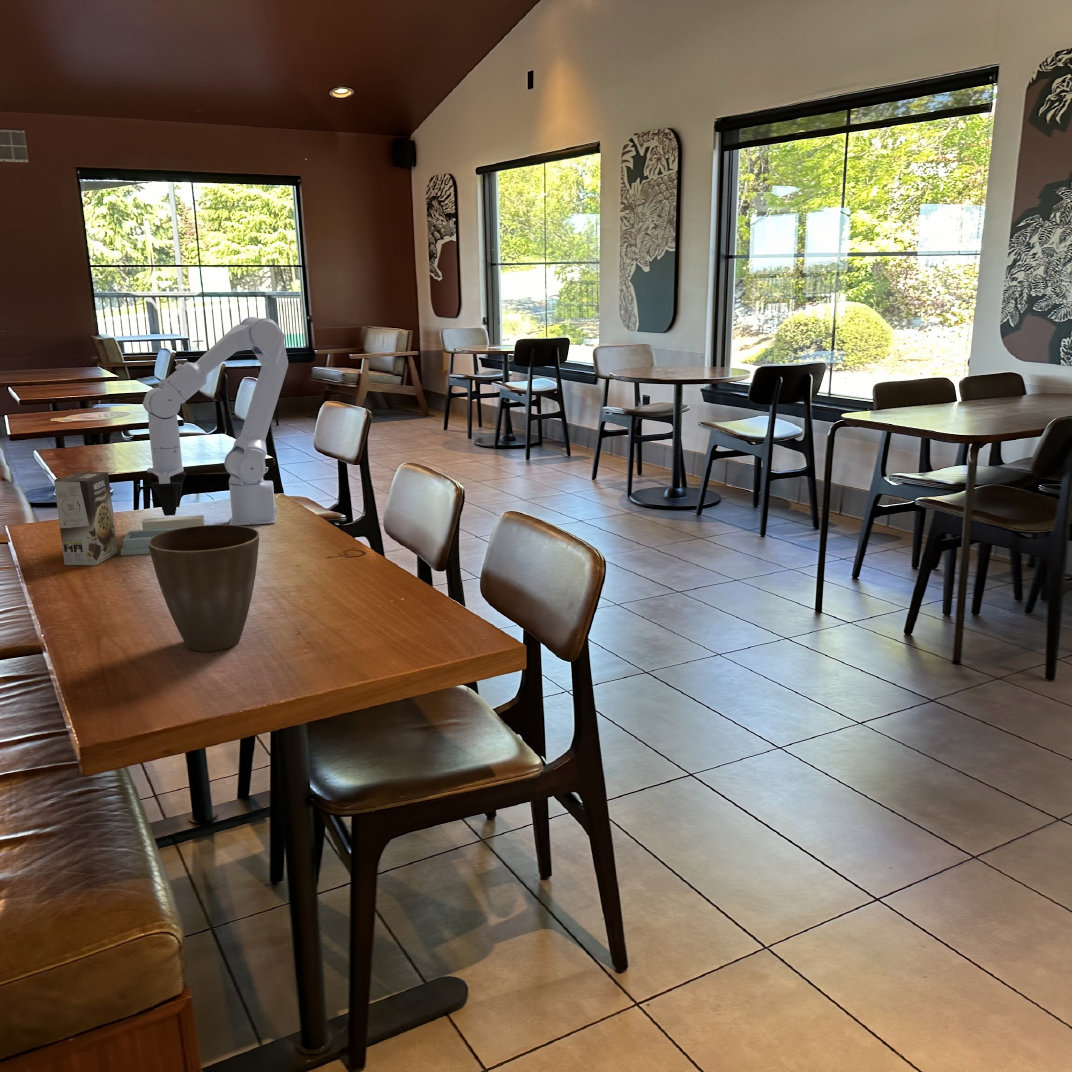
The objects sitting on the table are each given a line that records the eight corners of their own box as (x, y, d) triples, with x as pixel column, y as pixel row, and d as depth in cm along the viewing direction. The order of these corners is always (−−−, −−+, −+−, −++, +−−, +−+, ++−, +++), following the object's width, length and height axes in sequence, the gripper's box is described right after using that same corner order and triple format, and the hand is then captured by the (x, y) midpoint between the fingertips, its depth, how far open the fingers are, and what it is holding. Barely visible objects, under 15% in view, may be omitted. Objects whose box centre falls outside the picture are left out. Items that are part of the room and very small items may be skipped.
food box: (97, 565, 177) (86, 480, 173) (63, 565, 177) (51, 480, 173) (119, 552, 186) (109, 471, 182) (86, 552, 186) (76, 471, 182)
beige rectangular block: (205, 529, 204) (203, 515, 203) (204, 533, 201) (202, 518, 200) (145, 533, 201) (143, 518, 200) (143, 537, 198) (141, 522, 197)
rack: (211, 538, 196) (210, 525, 195) (208, 549, 187) (206, 535, 187) (128, 543, 192) (127, 530, 191) (121, 555, 184) (119, 541, 183)
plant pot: (230, 618, 149) (220, 518, 145) (288, 639, 140) (280, 534, 136) (139, 645, 138) (127, 539, 134) (196, 671, 129) (185, 557, 125)
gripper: (149, 442, 202) (156, 504, 206) (139, 453, 189) (146, 520, 192) (185, 440, 204) (190, 502, 207) (177, 452, 190) (183, 518, 194)
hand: (172, 511), depth 200 cm, fingers open, 7 cm apart
